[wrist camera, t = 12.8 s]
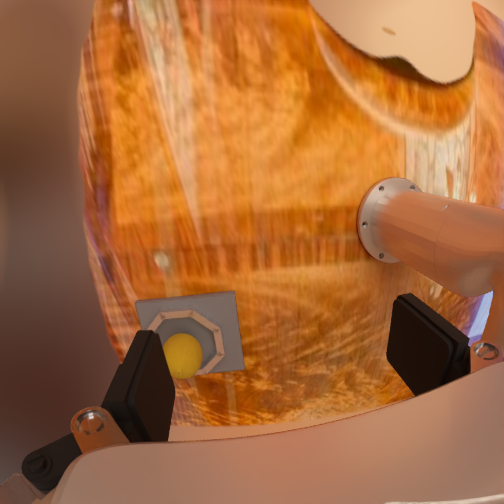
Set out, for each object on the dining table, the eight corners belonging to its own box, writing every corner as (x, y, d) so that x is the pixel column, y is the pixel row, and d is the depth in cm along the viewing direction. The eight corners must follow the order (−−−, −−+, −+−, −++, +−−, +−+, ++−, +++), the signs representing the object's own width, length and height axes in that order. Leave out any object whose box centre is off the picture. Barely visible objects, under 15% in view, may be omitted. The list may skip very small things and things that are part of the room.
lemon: (201, 357, 42) (198, 393, 34) (165, 351, 41) (155, 385, 33) (206, 326, 40) (203, 360, 33) (167, 320, 40) (157, 352, 32)
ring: (217, 302, 40) (216, 307, 38) (227, 366, 43) (228, 372, 41) (139, 309, 39) (137, 314, 37) (158, 371, 42) (156, 377, 41)
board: (234, 290, 40) (234, 293, 39) (244, 365, 44) (244, 369, 43) (136, 300, 40) (135, 303, 39) (158, 372, 43) (157, 376, 42)
